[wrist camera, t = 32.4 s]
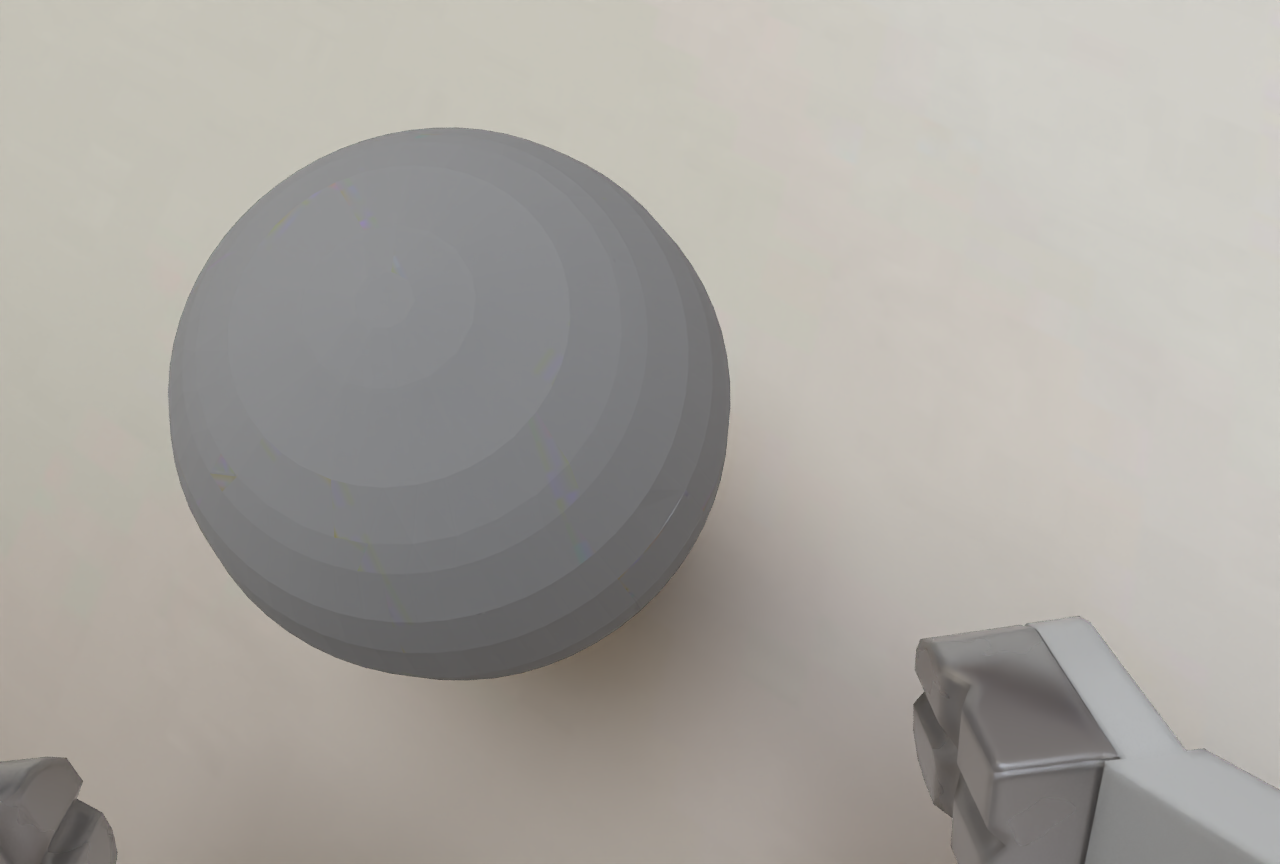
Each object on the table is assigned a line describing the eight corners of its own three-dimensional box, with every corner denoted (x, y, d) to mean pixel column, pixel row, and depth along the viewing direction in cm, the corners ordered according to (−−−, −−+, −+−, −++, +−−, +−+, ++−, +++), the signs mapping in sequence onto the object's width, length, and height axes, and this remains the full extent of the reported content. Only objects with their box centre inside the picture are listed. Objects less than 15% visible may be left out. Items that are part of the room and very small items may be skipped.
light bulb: (513, 330, 17) (316, -104, 8) (762, 475, 17) (884, 187, 7) (343, 574, 16) (-131, 418, 7) (600, 745, 15) (477, 847, 6)
